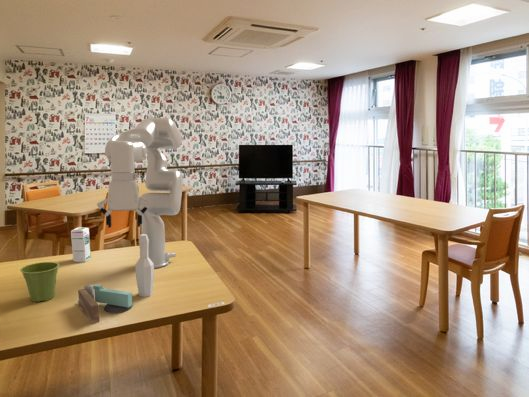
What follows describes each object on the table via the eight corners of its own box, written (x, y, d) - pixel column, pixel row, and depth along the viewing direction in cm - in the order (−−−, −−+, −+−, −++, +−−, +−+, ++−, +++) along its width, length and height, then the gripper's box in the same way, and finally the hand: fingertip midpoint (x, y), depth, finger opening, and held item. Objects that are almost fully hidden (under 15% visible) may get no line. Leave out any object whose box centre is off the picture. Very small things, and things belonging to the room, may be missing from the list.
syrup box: (85, 262, 181) (83, 230, 179) (72, 261, 181) (70, 230, 179) (91, 258, 187) (89, 227, 184) (78, 257, 187) (76, 227, 184)
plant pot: (66, 290, 149) (64, 261, 147) (53, 304, 137) (51, 272, 135) (32, 291, 148) (29, 261, 146) (16, 305, 136) (13, 273, 134)
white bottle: (155, 290, 150) (153, 232, 147) (153, 297, 144) (151, 236, 140) (137, 291, 149) (135, 232, 146) (135, 298, 143) (132, 237, 139)
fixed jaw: (92, 299, 141) (91, 283, 140) (109, 319, 127) (108, 300, 126) (77, 303, 138) (76, 286, 137) (92, 323, 124) (91, 304, 123)
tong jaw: (97, 299, 139) (96, 283, 138) (132, 304, 135) (131, 289, 134) (93, 301, 137) (92, 286, 136) (128, 307, 133) (127, 291, 132)
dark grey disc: (126, 299, 142) (126, 298, 142) (136, 308, 135) (136, 307, 135) (100, 305, 136) (99, 304, 136) (108, 315, 129) (108, 314, 129)
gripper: (149, 176, 146) (150, 223, 148) (97, 176, 142) (99, 225, 144) (149, 178, 139) (150, 227, 141) (94, 178, 134) (96, 229, 136)
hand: (124, 226), depth 142 cm, fingers open, 9 cm apart
